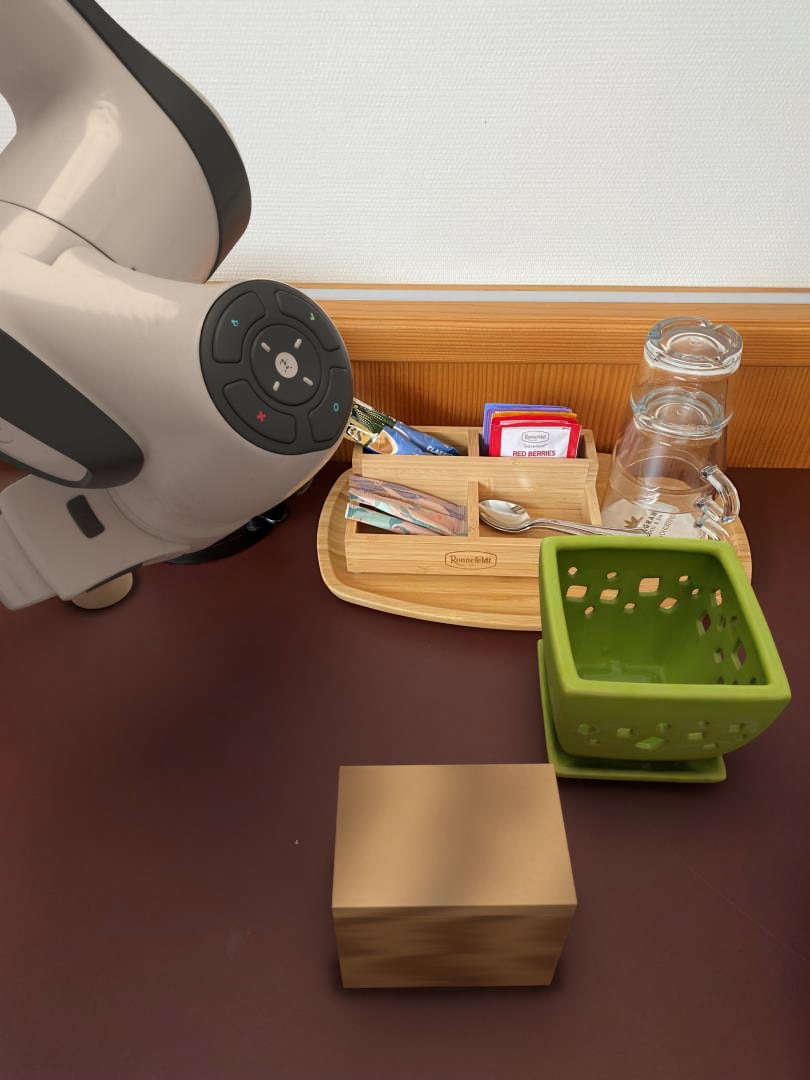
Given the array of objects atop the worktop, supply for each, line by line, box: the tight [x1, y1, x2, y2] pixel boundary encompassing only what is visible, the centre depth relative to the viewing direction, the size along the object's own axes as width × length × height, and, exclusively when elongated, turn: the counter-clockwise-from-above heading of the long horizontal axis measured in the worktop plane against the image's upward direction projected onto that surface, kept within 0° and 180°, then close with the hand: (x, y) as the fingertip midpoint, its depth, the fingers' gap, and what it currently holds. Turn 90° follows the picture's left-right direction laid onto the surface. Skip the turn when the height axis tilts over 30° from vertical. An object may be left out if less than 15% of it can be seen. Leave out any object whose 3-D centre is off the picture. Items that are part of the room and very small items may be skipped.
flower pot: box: [536, 534, 792, 784], centre depth 55 cm, size 14×14×13 cm
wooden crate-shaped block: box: [331, 763, 579, 989], centre depth 45 cm, size 12×8×11 cm, turn 91°
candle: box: [71, 572, 134, 610], centre depth 66 cm, size 6×6×10 cm
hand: (125, 523), depth 56 cm, fingers open, 8 cm apart
